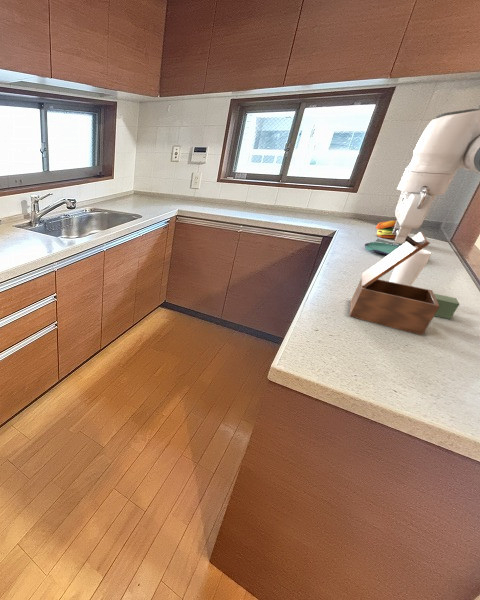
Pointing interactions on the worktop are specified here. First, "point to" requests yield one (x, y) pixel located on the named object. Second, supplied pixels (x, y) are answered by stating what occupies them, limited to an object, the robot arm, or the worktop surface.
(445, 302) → the block
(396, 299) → the chest
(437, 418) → the worktop surface
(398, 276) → the white tapered cylinder
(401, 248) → the lid
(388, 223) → the cheeseburger
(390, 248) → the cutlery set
